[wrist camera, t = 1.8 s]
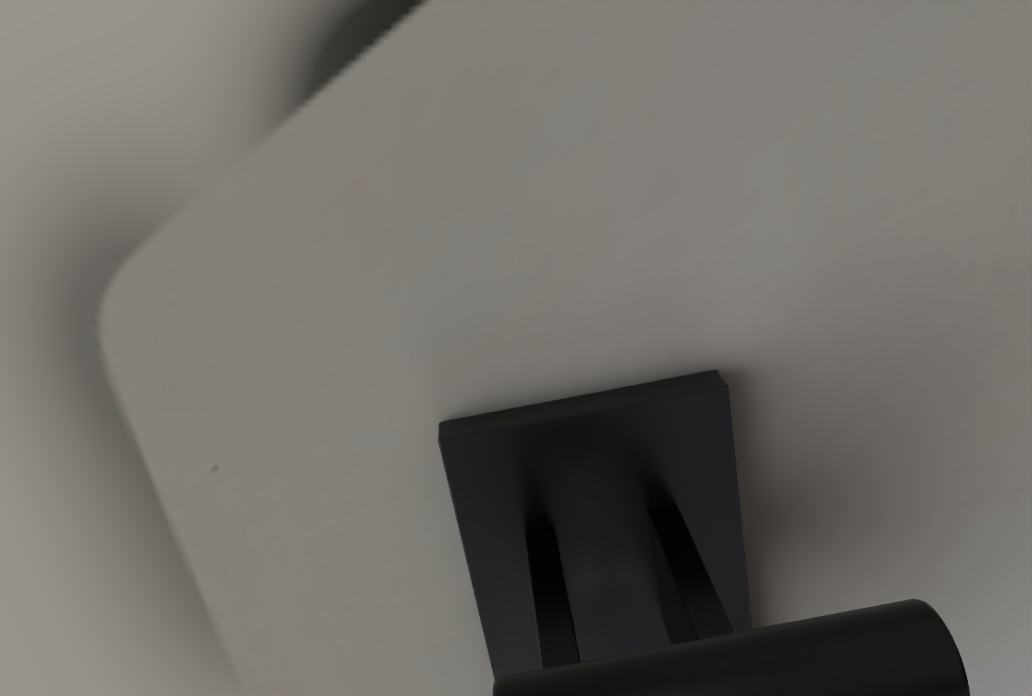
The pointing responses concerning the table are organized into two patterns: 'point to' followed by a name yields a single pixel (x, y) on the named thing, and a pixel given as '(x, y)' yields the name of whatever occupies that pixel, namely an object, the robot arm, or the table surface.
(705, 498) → the bracket
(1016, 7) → the table surface
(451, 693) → the table surface
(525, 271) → the table surface
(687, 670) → the lever
